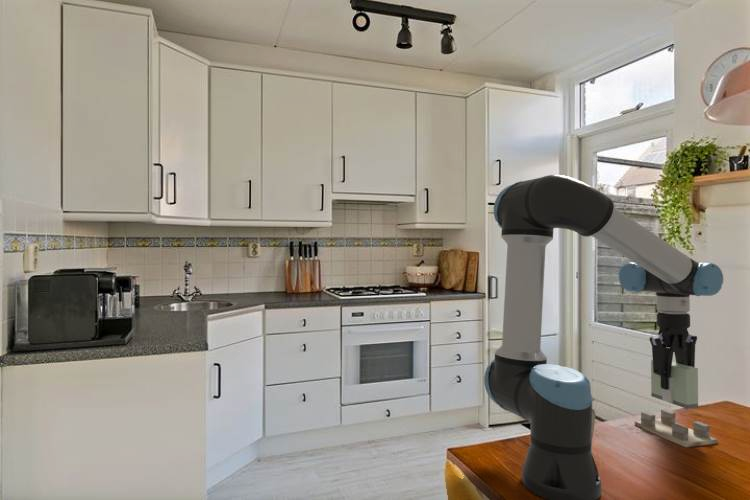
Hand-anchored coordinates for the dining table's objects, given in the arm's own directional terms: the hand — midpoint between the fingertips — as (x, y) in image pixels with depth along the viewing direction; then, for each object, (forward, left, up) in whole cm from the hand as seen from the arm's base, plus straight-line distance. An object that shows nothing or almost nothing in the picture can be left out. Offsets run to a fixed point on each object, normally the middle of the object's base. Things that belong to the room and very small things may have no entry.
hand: (674, 400), depth 126 cm
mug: (-33, -5, -9) cm, 35 cm away
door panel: (0, 0, 0) cm, 0 cm away
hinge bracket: (0, 0, -9) cm, 9 cm away
